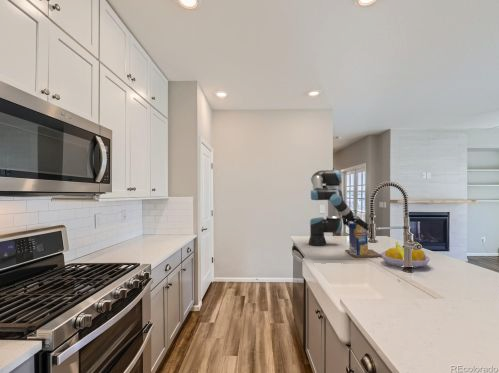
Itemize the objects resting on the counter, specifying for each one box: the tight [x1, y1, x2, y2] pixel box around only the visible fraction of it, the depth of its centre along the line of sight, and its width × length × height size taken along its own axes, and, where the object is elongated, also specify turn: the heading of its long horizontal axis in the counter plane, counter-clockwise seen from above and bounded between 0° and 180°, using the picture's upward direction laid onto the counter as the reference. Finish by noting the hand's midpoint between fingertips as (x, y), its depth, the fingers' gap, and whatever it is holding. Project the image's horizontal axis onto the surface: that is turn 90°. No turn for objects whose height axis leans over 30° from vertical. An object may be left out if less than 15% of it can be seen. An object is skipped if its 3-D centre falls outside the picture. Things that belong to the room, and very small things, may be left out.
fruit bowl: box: [379, 241, 431, 268], centre depth 165 cm, size 28×27×11 cm
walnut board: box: [344, 249, 382, 259], centre depth 191 cm, size 20×20×1 cm
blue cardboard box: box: [348, 222, 369, 255], centre depth 190 cm, size 7×11×22 cm, turn 116°
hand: (360, 231), depth 190 cm, fingers open, 13 cm apart
